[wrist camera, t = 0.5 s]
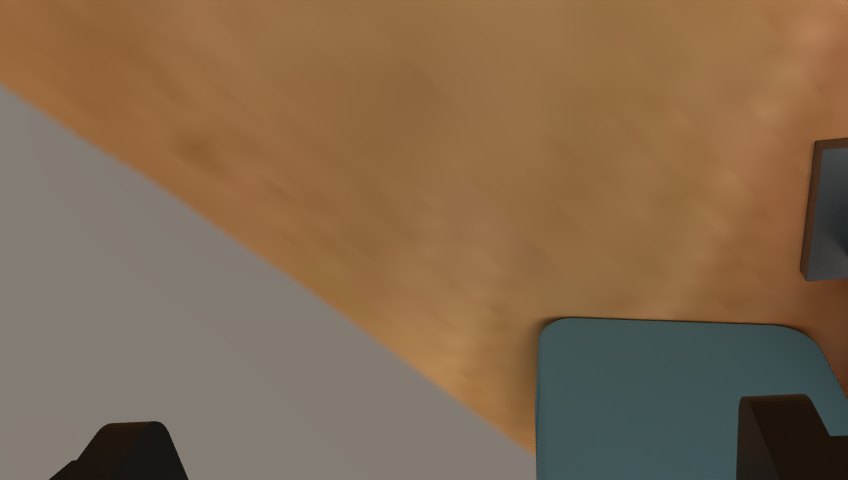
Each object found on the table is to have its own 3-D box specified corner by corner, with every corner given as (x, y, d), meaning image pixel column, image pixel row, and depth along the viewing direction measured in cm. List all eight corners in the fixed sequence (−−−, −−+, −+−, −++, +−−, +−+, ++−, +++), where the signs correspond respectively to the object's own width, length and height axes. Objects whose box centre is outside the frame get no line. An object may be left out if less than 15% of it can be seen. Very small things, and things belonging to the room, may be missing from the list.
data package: (534, 386, 36) (539, 619, 26) (537, 314, 34) (544, 539, 24) (788, 398, 35) (897, 649, 25) (810, 323, 32) (941, 567, 22)
